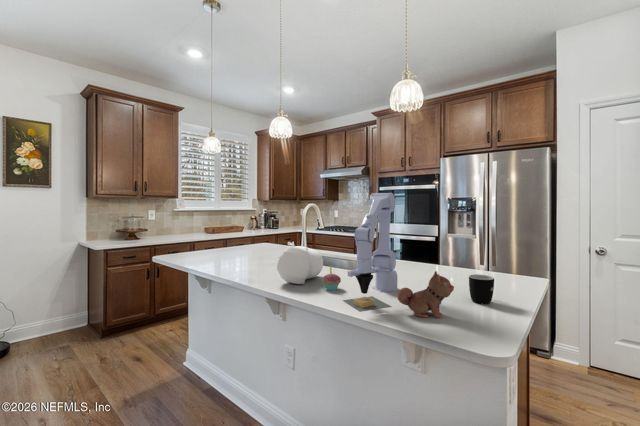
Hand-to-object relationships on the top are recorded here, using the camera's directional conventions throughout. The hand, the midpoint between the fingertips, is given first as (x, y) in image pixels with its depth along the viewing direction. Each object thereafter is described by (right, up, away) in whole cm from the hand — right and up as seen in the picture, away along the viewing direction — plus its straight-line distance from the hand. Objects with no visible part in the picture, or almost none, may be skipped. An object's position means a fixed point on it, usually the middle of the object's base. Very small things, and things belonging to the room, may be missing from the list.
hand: (364, 292), depth 122 cm
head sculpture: (-28, -4, +40) cm, 49 cm away
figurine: (+20, -5, -10) cm, 23 cm away
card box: (+2, -3, 0) cm, 4 cm away
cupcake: (-12, -4, +21) cm, 25 cm away
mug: (+48, -5, +5) cm, 48 cm away
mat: (+1, -5, +1) cm, 5 cm away
